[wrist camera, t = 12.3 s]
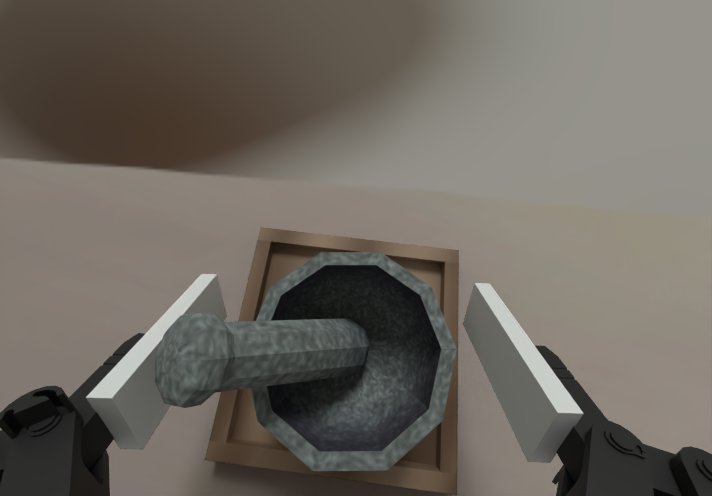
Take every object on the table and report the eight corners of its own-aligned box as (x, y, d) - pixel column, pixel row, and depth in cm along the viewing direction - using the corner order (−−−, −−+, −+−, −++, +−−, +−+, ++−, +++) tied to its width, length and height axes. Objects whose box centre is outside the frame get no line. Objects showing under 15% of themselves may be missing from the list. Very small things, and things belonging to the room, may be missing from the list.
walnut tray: (216, 449, 18) (204, 459, 16) (266, 234, 22) (260, 227, 21) (448, 481, 17) (456, 494, 16) (451, 255, 22) (458, 250, 20)
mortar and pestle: (416, 278, 21) (496, 208, 9) (426, 419, 18) (559, 572, 6) (267, 278, 21) (159, 207, 9) (253, 421, 18) (73, 580, 6)
